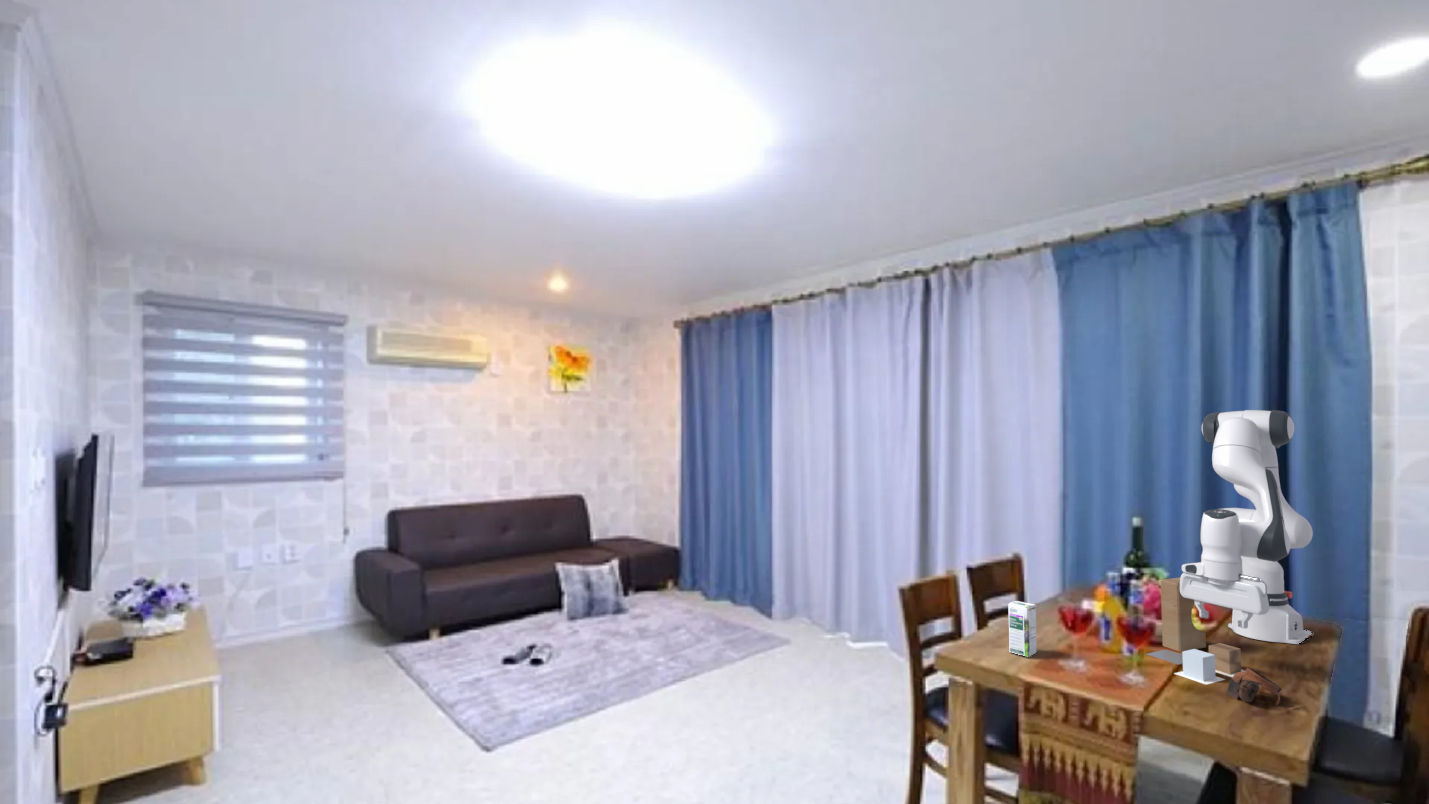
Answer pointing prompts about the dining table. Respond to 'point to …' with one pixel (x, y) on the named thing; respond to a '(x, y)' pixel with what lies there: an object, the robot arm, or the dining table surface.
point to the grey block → (1199, 664)
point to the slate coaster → (1168, 656)
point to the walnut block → (1226, 658)
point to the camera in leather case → (1250, 686)
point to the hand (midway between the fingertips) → (1223, 622)
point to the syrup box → (1022, 628)
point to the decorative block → (1178, 619)
